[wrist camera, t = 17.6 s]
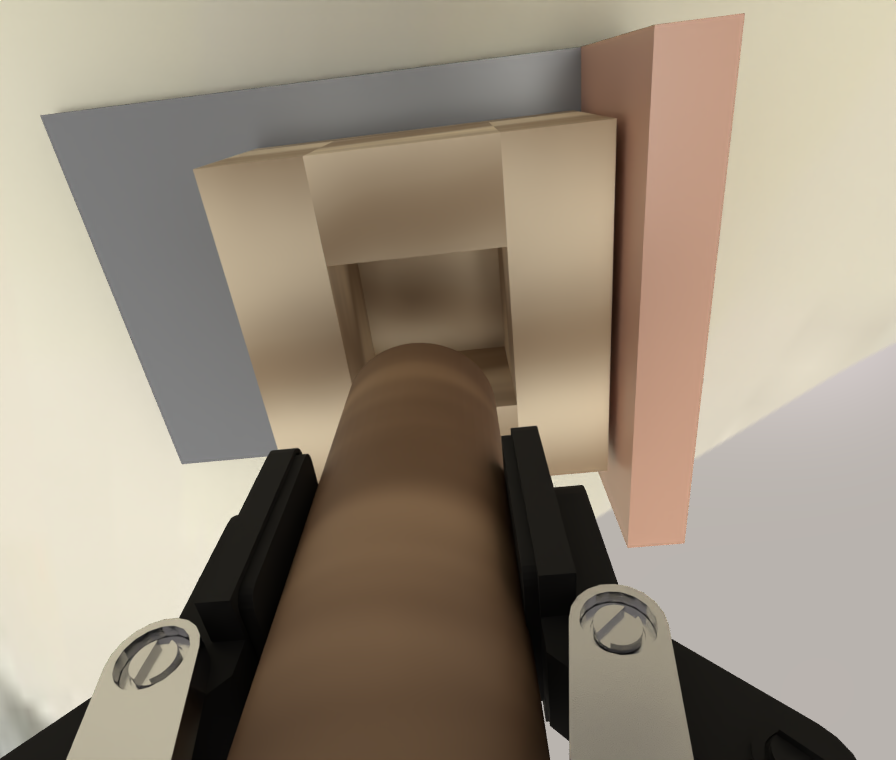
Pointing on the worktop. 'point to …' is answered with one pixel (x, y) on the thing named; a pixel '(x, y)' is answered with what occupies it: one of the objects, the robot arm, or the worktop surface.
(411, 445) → the dowel
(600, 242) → the socket block
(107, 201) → the rail board
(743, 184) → the worktop surface
